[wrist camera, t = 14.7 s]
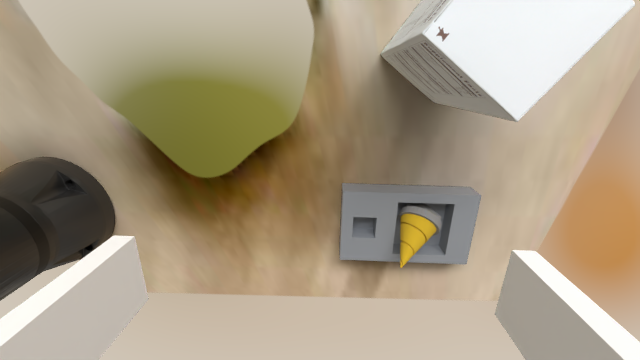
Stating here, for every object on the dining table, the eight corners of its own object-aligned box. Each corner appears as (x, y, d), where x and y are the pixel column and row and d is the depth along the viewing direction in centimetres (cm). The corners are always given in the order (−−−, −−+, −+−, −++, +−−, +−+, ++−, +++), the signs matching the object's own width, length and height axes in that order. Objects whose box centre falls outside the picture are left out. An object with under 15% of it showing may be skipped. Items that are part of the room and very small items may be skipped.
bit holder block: (339, 247, 43) (339, 259, 40) (342, 183, 40) (342, 191, 37) (457, 251, 43) (466, 264, 40) (470, 186, 39) (481, 195, 37)
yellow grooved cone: (443, 217, 41) (419, 283, 37) (405, 203, 43) (379, 264, 39) (452, 197, 37) (426, 270, 32) (409, 183, 38) (380, 250, 34)
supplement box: (434, 105, 36) (515, 129, 20) (377, 55, 34) (416, 38, 19) (496, 36, 33) (645, 2, 17) (437, -22, 32) (542, -118, 16)
